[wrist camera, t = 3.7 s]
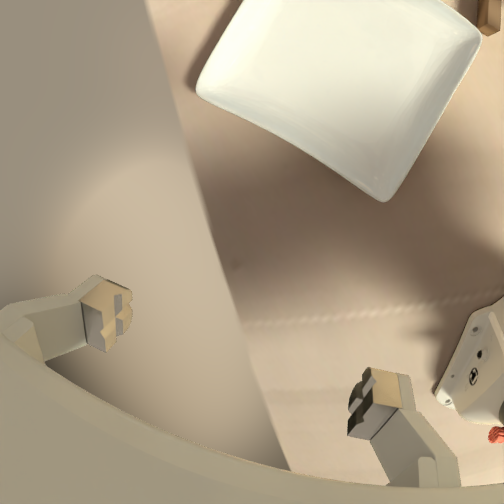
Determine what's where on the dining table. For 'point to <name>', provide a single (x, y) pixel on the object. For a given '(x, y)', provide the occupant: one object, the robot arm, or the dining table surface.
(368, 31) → the salad plate
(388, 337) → the dining table surface
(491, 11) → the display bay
